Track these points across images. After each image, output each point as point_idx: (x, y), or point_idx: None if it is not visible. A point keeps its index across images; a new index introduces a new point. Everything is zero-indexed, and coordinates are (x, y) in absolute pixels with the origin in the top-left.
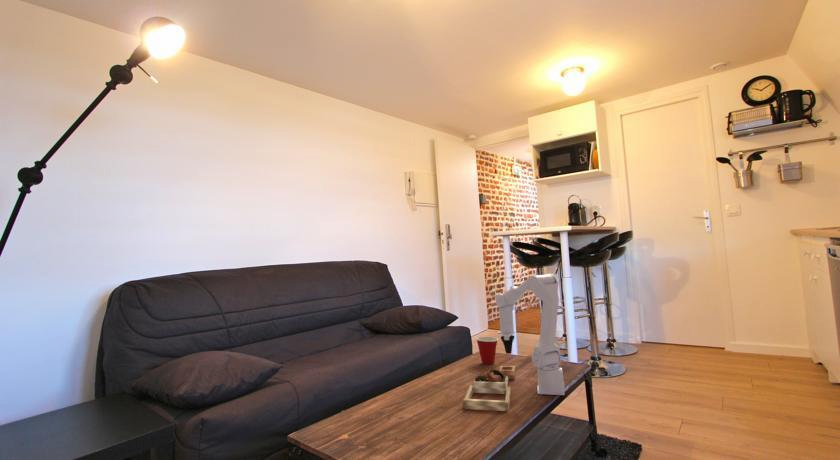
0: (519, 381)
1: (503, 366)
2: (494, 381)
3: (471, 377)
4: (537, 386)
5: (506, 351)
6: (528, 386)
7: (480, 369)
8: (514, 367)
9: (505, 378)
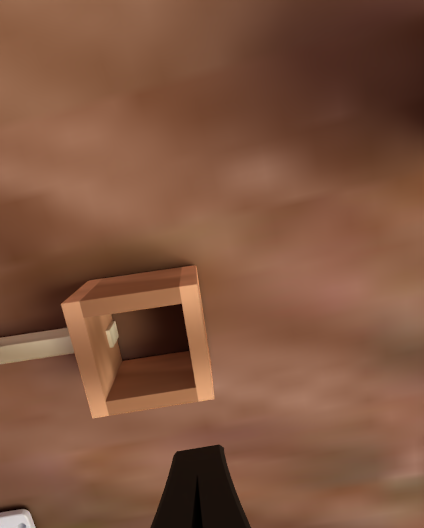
0: None
1: (186, 313)
2: None
3: (51, 21)
4: (7, 517)
5: (169, 487)
6: (20, 463)
7: (295, 54)
8: (181, 403)
9: (20, 344)
